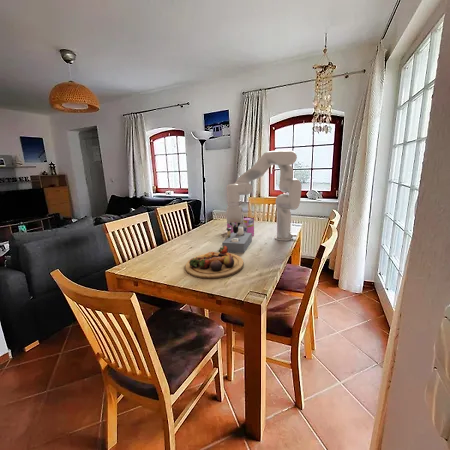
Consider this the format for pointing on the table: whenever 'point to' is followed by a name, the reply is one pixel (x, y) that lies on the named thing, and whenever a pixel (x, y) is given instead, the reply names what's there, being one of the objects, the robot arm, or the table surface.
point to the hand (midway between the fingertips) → (235, 232)
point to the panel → (238, 246)
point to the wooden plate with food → (214, 265)
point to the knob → (240, 231)
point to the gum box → (245, 225)
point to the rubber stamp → (228, 232)
